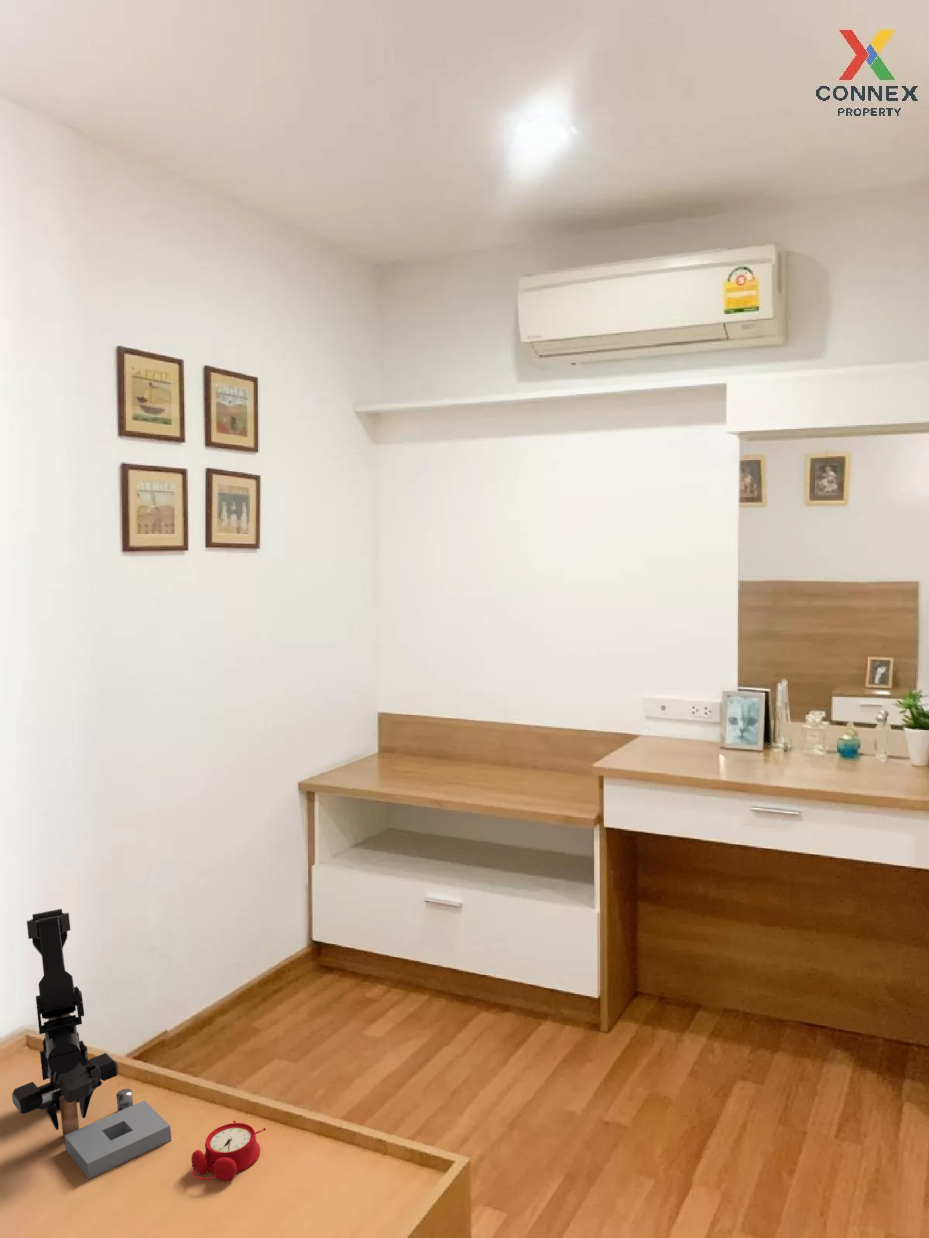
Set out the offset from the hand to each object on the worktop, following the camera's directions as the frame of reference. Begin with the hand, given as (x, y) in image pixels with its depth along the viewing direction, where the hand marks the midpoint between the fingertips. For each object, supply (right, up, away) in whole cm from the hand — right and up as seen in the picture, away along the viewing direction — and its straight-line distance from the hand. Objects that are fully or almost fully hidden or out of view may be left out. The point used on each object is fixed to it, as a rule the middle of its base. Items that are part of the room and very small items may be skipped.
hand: (70, 1122), depth 198 cm
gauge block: (+11, -2, -4) cm, 12 cm away
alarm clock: (+33, -2, -11) cm, 35 cm away
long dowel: (0, -3, 0) cm, 2 cm away
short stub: (+8, -1, +7) cm, 11 cm away
